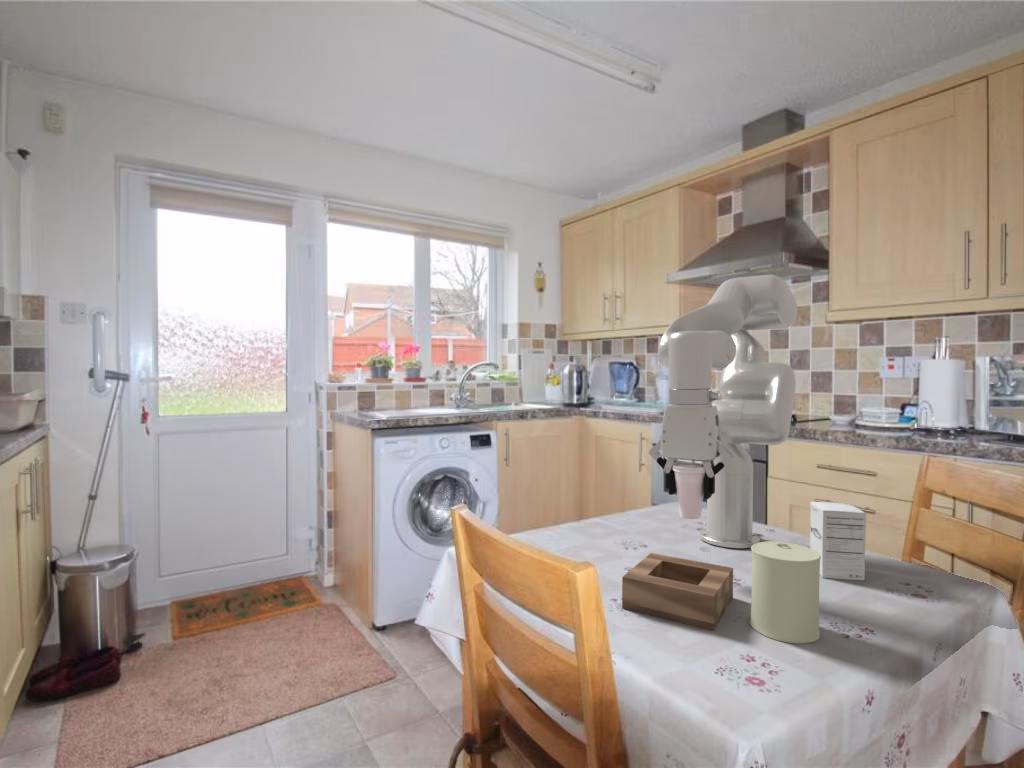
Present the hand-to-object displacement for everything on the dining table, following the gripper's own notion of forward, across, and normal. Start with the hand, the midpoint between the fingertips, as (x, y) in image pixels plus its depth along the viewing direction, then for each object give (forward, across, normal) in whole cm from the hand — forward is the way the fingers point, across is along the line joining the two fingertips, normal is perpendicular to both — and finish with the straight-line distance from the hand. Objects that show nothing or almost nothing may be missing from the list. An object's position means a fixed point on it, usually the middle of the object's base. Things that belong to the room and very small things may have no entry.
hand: (690, 494), depth 102 cm
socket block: (+14, -2, +14) cm, 20 cm away
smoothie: (+4, 0, 0) cm, 4 cm away
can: (+15, -17, +15) cm, 27 cm away
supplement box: (+16, -23, -16) cm, 32 cm away
